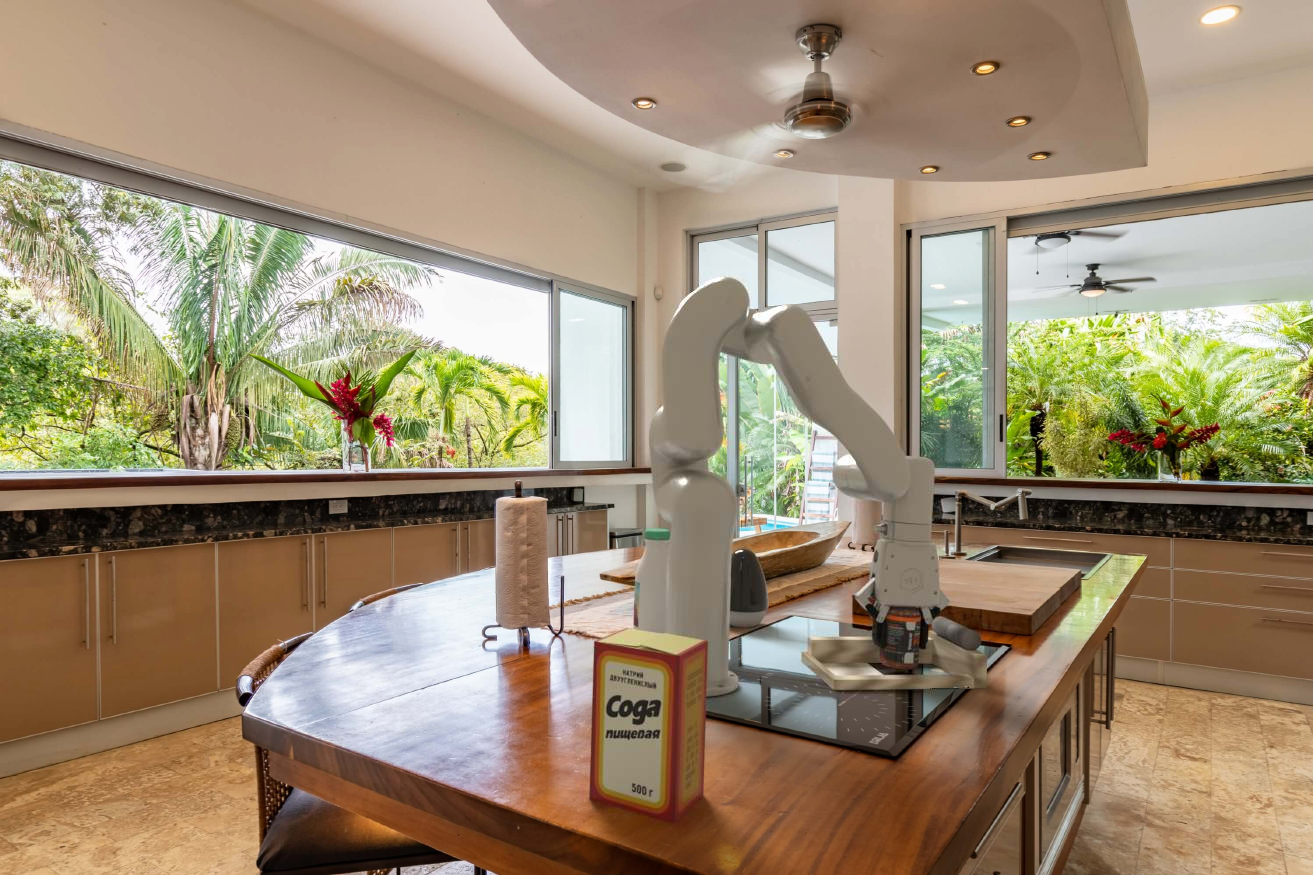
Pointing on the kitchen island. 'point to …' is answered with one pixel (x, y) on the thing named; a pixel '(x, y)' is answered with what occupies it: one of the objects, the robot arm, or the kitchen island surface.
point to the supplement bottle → (901, 638)
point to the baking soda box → (648, 722)
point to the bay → (850, 670)
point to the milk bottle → (652, 583)
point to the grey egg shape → (747, 590)
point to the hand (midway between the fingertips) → (899, 645)
